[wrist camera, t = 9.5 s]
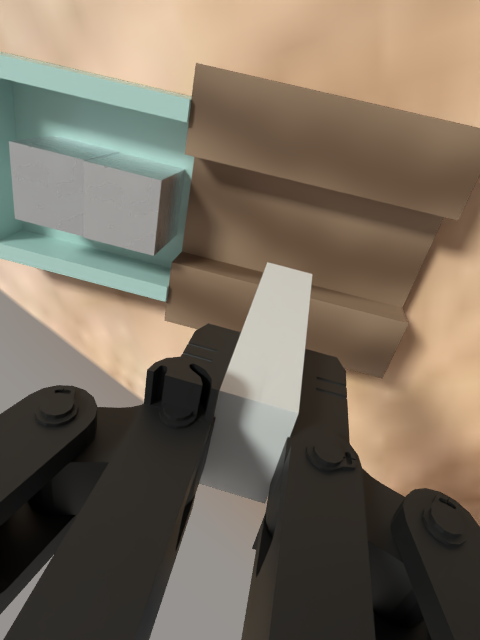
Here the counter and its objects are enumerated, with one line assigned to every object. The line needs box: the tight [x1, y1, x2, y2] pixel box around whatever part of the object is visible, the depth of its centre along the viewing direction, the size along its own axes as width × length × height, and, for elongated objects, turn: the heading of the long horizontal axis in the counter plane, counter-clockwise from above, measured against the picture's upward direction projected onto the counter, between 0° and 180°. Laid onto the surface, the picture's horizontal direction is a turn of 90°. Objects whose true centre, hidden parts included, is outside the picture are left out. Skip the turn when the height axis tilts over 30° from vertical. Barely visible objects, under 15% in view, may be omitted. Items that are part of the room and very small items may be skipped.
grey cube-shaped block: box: [9, 136, 119, 237], centre depth 23 cm, size 4×4×4 cm
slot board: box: [165, 63, 480, 378], centre depth 23 cm, size 14×14×3 cm
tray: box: [0, 52, 194, 302], centre depth 23 cm, size 11×12×3 cm
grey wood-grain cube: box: [84, 153, 185, 256], centre depth 23 cm, size 4×4×4 cm
